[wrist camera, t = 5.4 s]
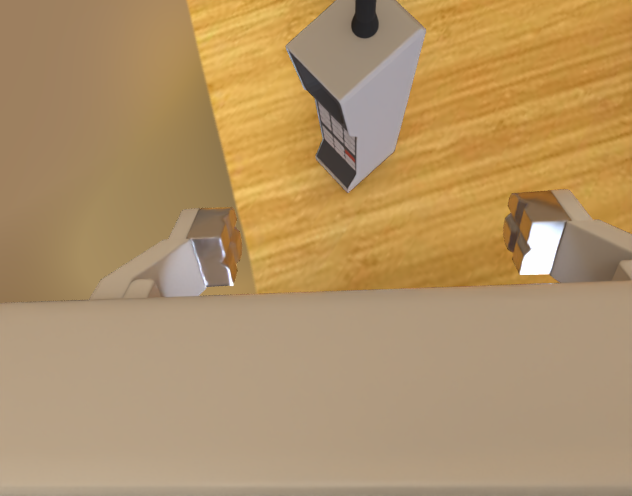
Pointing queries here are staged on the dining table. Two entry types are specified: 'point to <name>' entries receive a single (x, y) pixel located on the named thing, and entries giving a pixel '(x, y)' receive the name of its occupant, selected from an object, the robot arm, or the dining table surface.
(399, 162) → the dining table surface
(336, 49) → the vintage mobile phone
